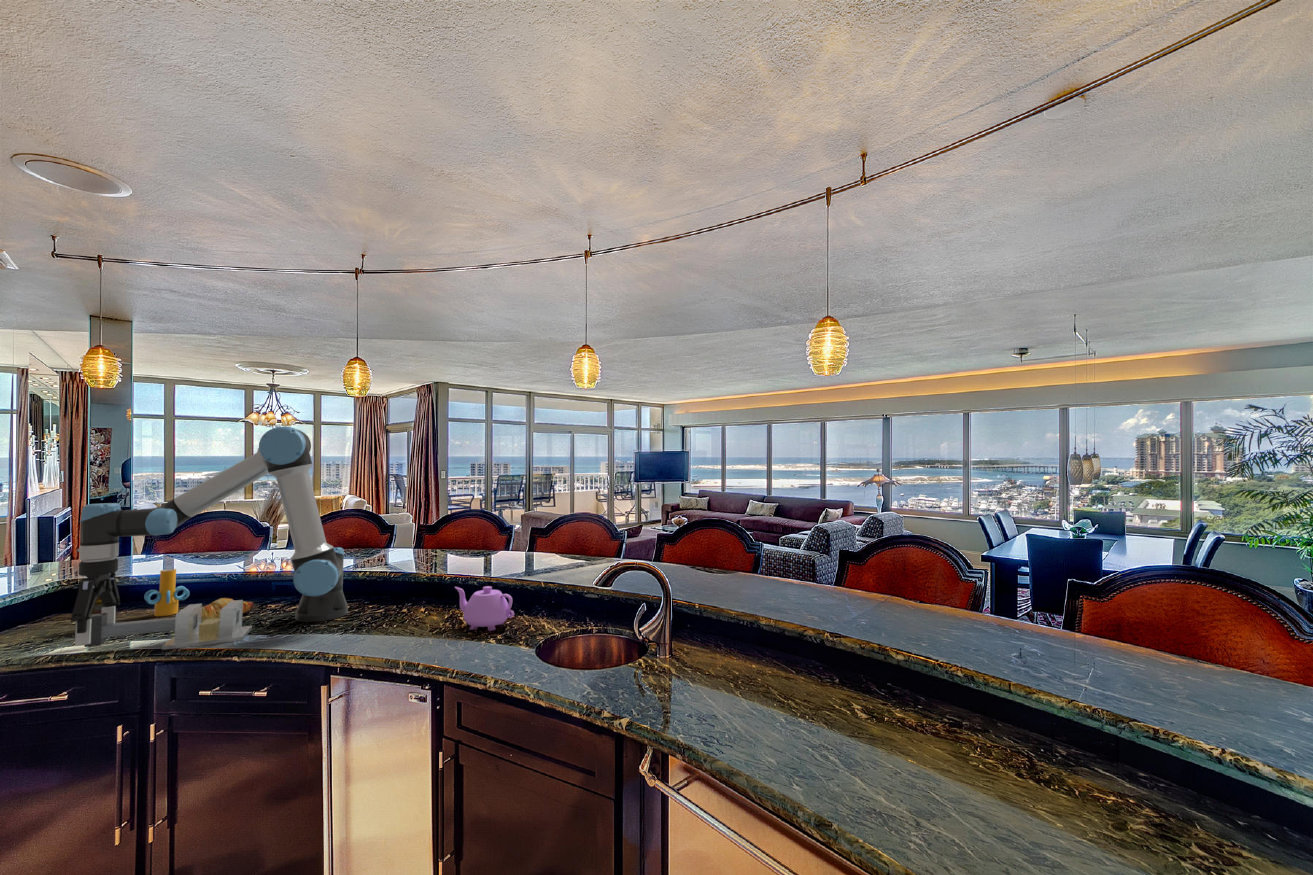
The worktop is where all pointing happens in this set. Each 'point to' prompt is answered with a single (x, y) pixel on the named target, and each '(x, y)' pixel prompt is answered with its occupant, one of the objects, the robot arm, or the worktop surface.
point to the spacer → (209, 628)
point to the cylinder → (166, 594)
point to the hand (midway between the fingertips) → (95, 637)
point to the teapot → (485, 608)
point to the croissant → (215, 607)
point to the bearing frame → (189, 634)
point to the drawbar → (126, 627)
